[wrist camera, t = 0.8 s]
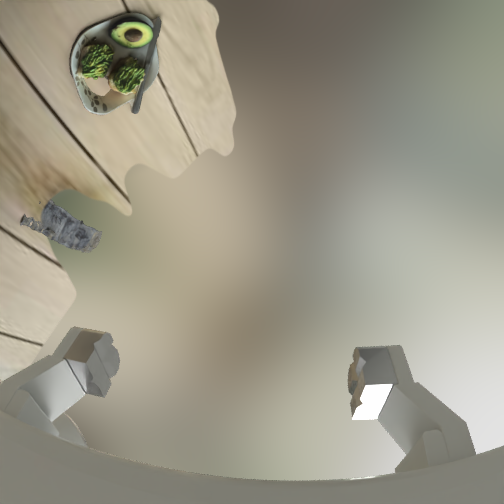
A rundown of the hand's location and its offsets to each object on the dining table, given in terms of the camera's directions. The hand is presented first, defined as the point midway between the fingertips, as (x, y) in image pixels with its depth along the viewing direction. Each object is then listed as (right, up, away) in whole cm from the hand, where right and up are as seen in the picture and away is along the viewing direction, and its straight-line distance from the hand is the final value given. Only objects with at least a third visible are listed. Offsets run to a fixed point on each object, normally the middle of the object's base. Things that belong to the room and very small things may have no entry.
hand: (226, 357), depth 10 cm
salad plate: (-22, +35, +32) cm, 52 cm away
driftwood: (-35, +8, +43) cm, 56 cm away
